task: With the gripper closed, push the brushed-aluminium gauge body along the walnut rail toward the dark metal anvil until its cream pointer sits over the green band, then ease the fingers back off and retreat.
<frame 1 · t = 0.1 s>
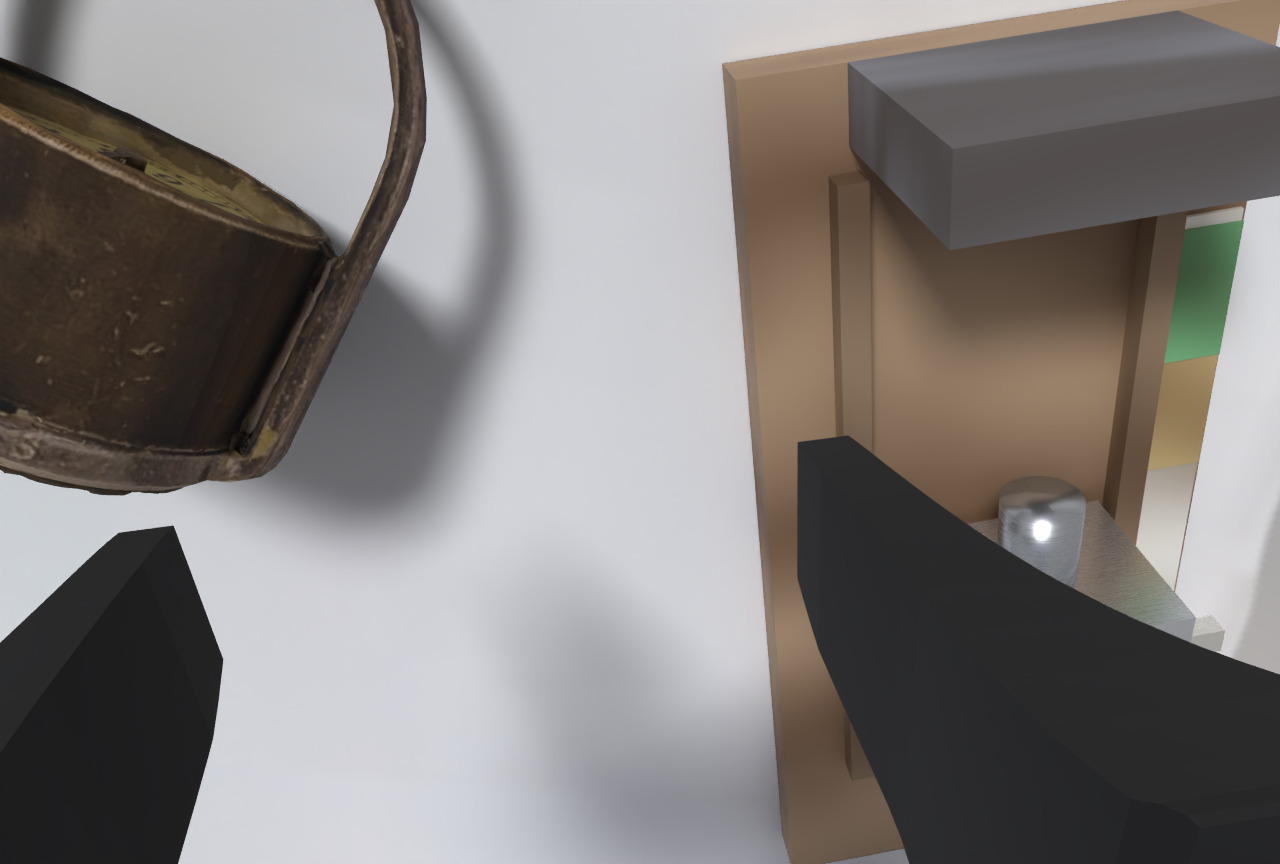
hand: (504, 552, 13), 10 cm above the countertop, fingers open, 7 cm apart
mechanical counter: (223, 73, 20), on the countertop
rail board: (964, 499, 26), on the countertop
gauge: (1066, 617, 24), point 3 cm above the countertop, slide at 0.0 cm
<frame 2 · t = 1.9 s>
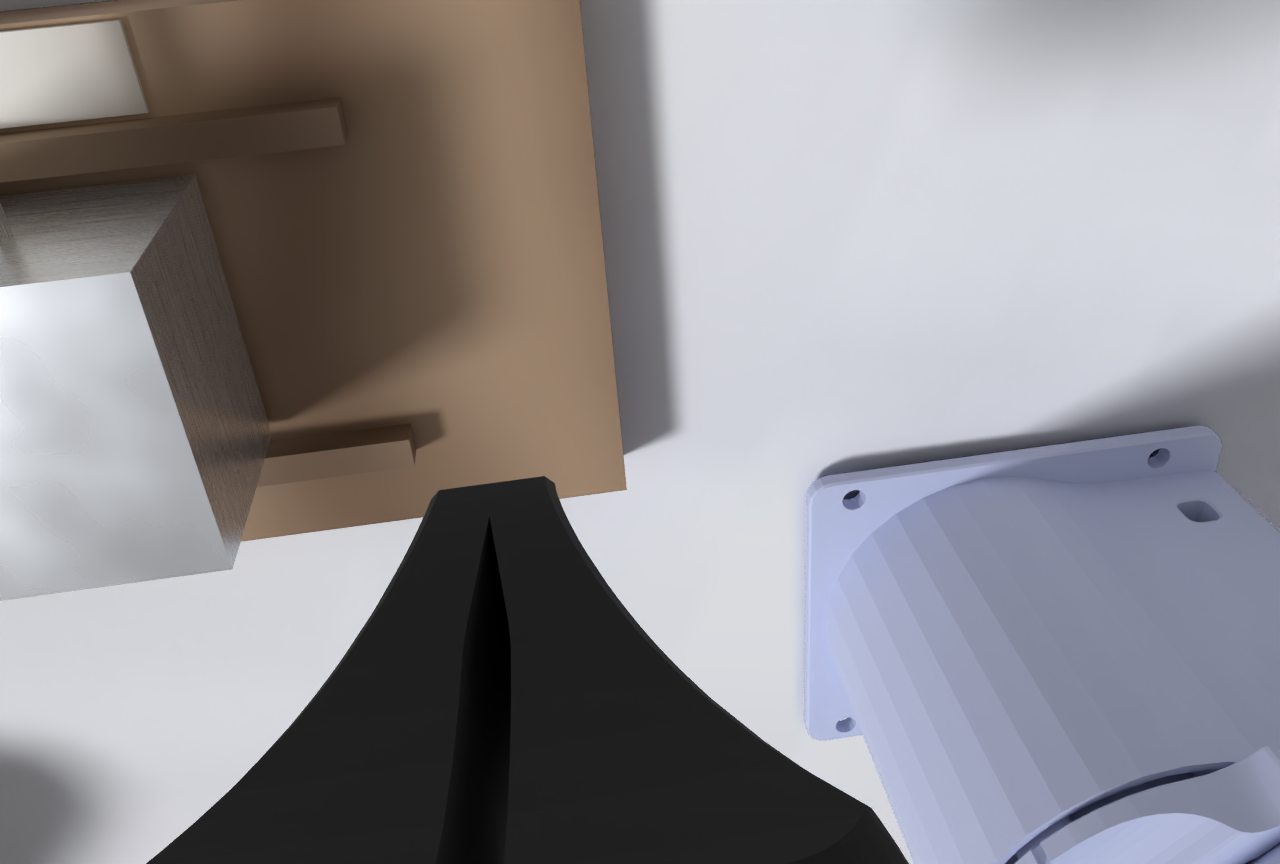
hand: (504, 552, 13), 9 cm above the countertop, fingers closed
rail board: (0, 308, 20), on the countertop
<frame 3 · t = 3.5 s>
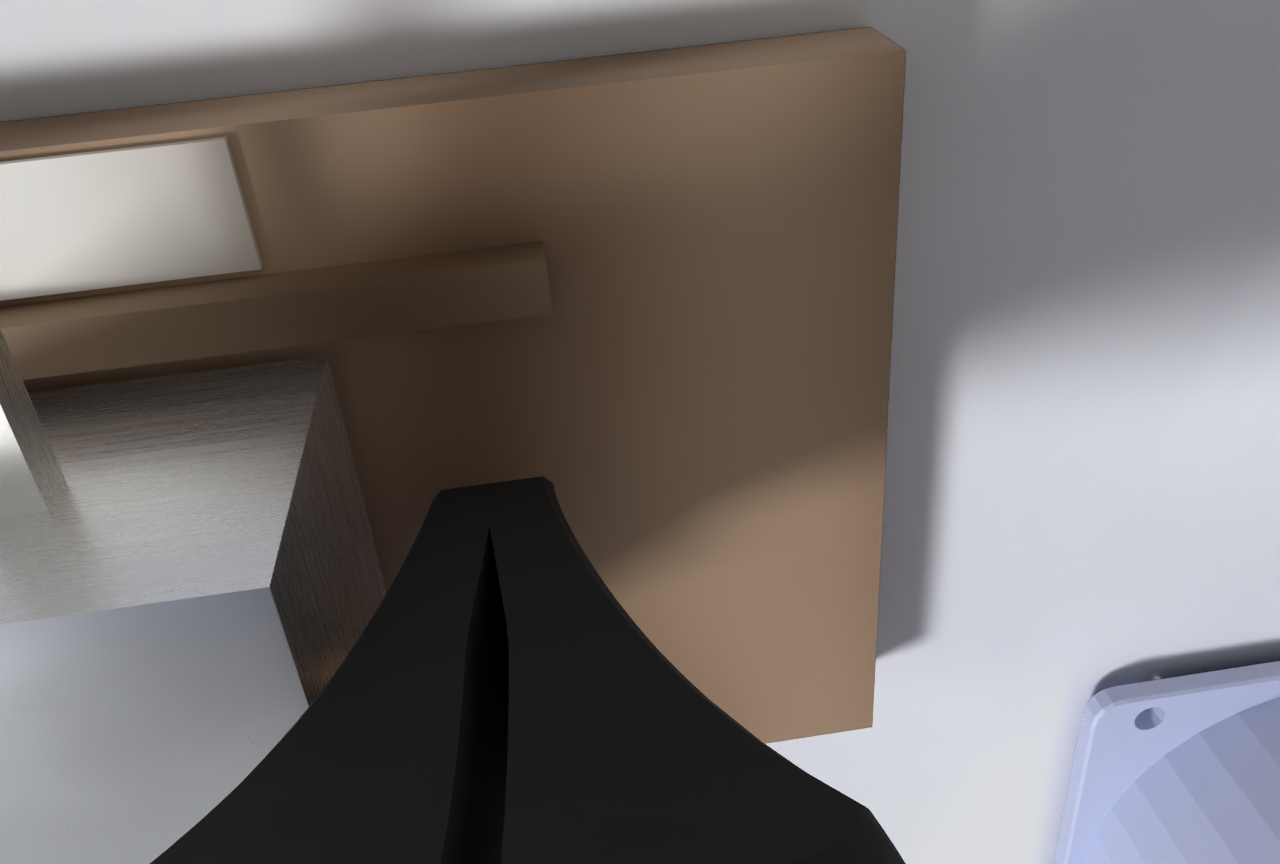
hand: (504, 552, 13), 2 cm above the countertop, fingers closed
rail board: (36, 515, 14), on the countertop
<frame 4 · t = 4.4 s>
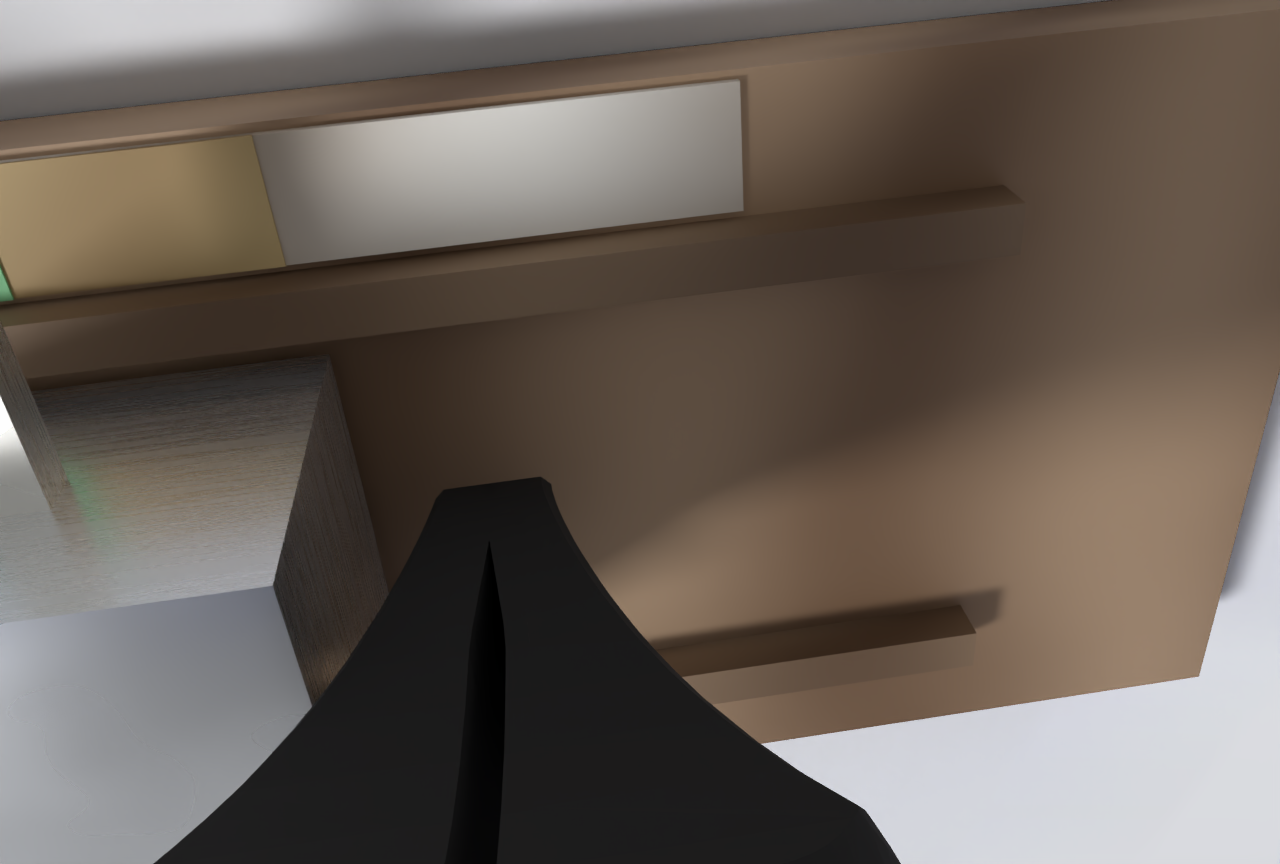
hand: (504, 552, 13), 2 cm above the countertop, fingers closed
rail board: (436, 461, 15), on the countertop
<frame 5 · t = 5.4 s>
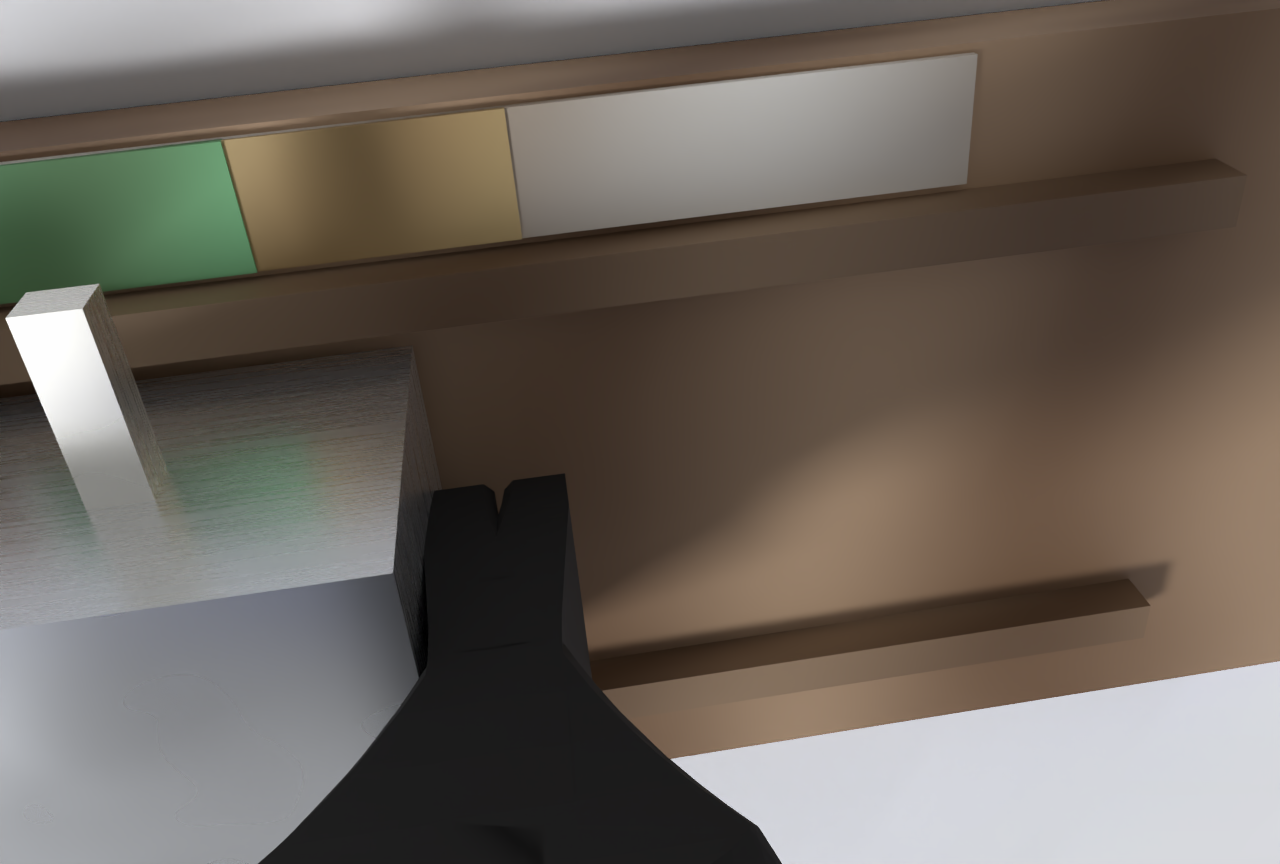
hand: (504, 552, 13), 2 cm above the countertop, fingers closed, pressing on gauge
rail board: (621, 437, 15), on the countertop
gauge: (69, 621, 11), point 4 cm above the countertop, slide at 6.8 cm, touching gripper, rail board
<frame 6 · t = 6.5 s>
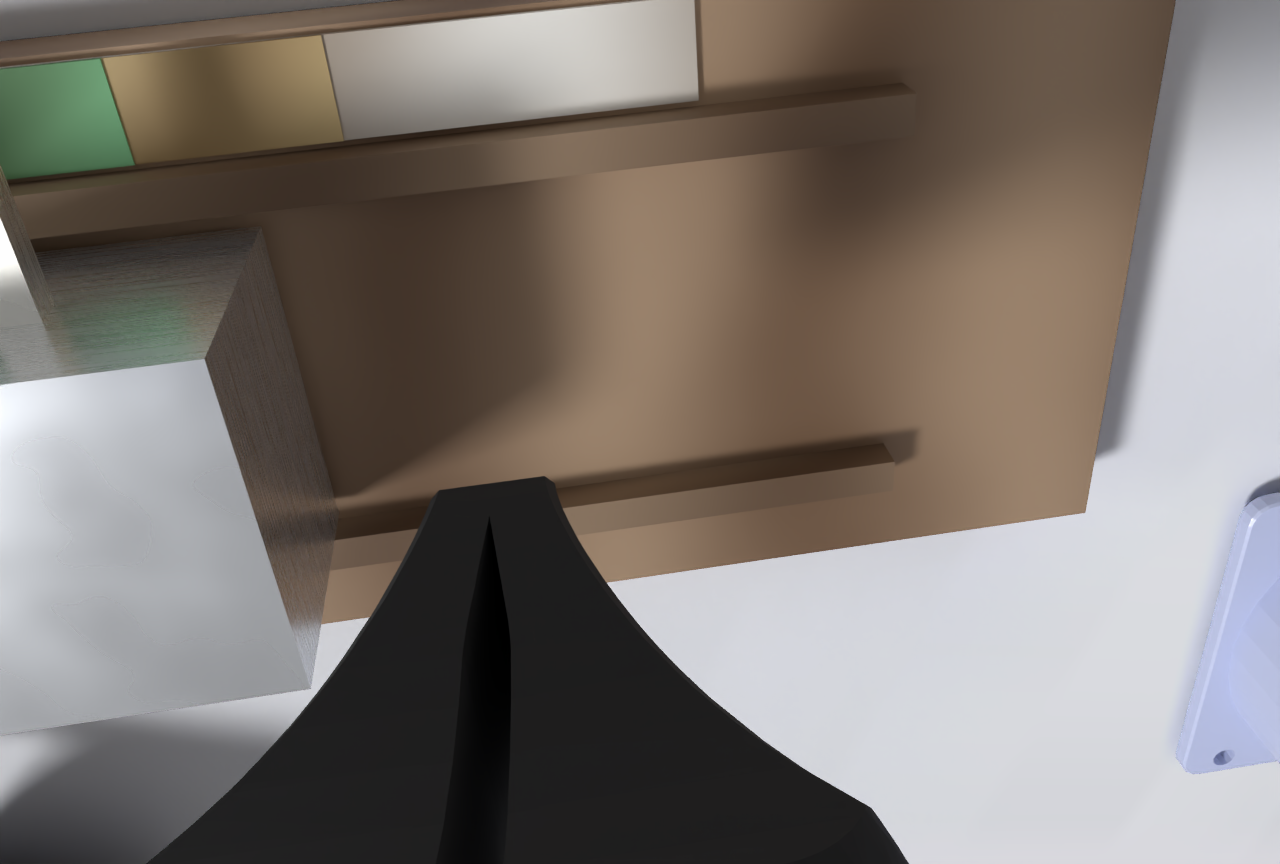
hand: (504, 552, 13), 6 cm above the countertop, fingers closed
rail board: (455, 319, 18), on the countertop
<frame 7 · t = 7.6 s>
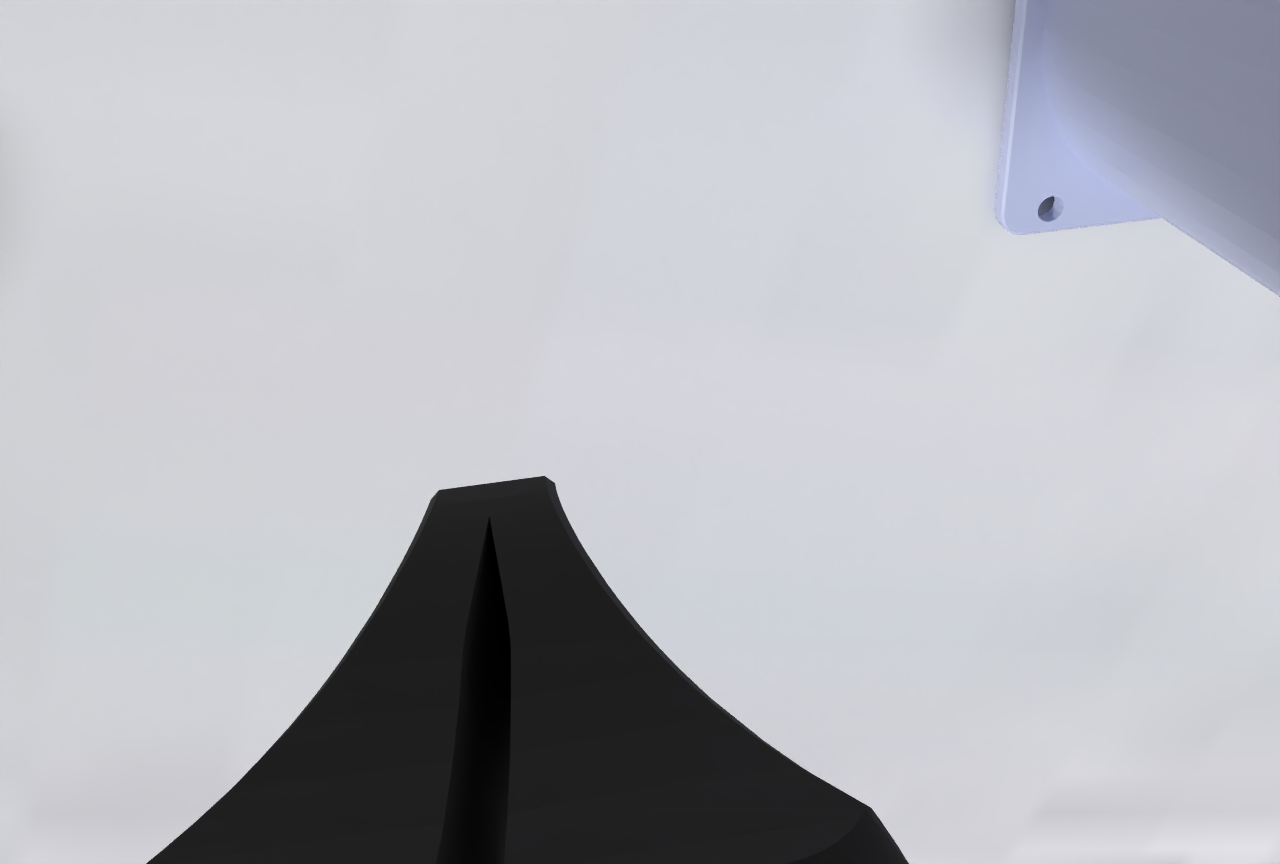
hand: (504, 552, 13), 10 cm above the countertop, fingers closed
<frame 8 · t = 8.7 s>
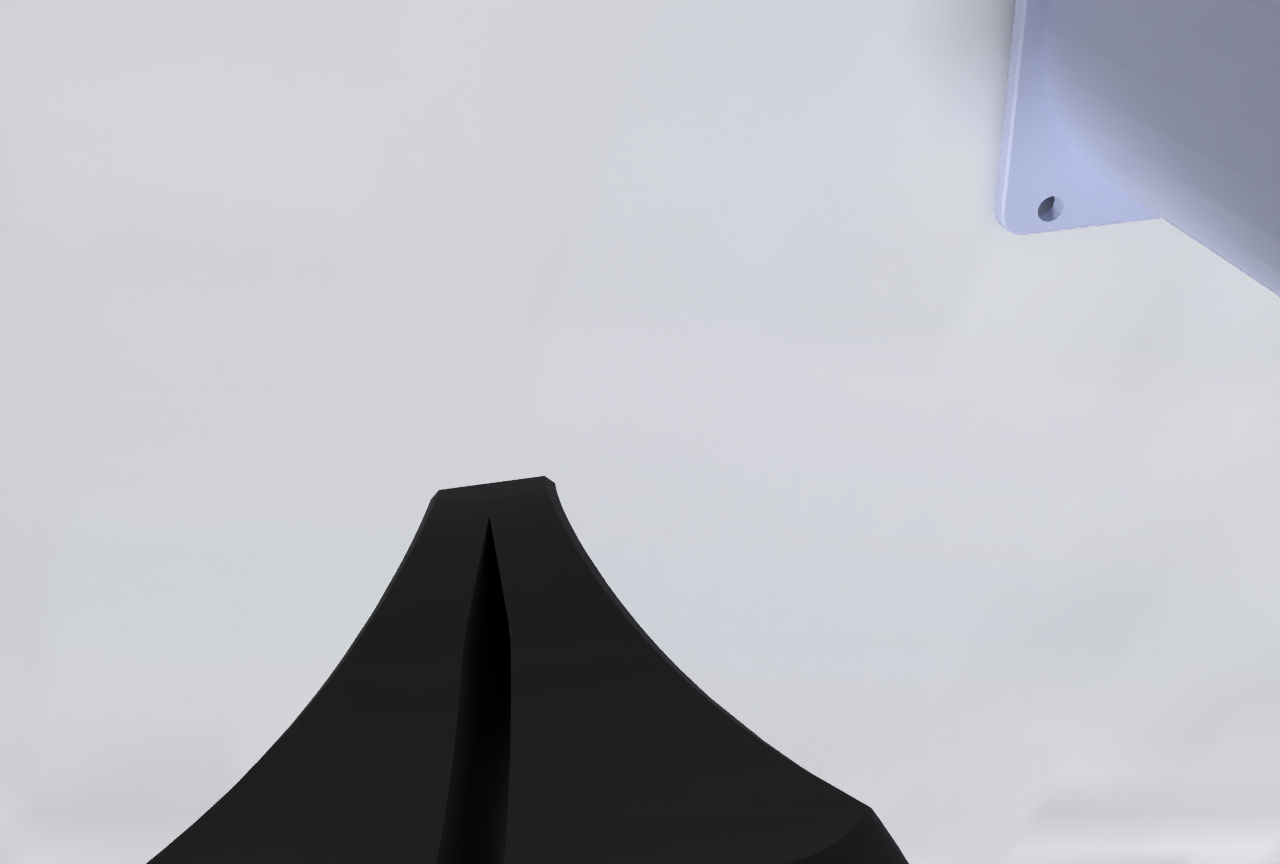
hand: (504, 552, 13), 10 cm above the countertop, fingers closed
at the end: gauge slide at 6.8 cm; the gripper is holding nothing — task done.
